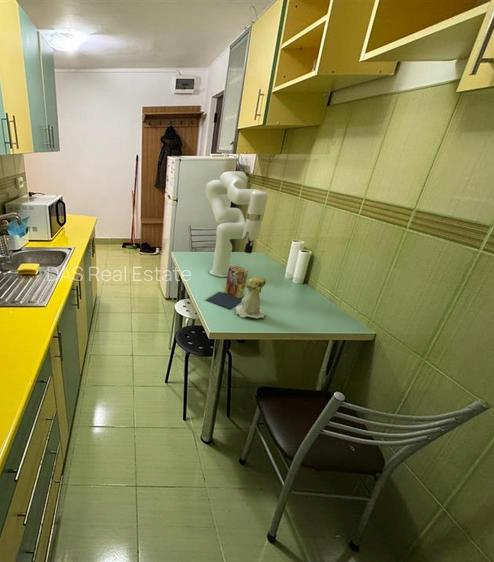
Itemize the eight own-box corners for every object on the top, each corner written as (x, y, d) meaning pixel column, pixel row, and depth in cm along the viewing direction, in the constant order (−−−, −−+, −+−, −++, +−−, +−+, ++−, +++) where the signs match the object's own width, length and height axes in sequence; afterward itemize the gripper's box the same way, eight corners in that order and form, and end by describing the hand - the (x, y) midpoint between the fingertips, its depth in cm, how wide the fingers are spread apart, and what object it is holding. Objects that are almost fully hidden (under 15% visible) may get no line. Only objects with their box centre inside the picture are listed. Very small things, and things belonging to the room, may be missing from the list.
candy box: (243, 296, 159) (249, 269, 153) (239, 298, 157) (244, 271, 150) (228, 290, 165) (233, 264, 159) (223, 292, 163) (228, 266, 157)
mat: (219, 292, 163) (219, 291, 163) (242, 300, 155) (243, 299, 155) (206, 300, 154) (206, 299, 154) (230, 309, 146) (230, 308, 146)
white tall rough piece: (268, 321, 136) (278, 284, 129) (239, 319, 137) (247, 282, 129) (259, 308, 147) (267, 273, 140) (232, 307, 148) (239, 272, 140)
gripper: (253, 214, 157) (247, 248, 164) (240, 218, 147) (234, 254, 154) (268, 216, 152) (261, 251, 159) (256, 220, 142) (248, 257, 149)
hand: (248, 252), depth 157 cm, fingers closed
